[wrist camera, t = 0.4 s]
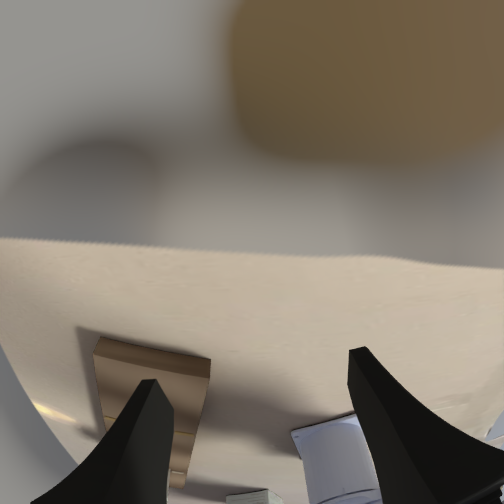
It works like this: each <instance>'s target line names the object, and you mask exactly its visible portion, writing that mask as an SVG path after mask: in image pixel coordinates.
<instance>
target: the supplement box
mask: <svg viewBox="0 0 504 504" xmlns="http://www.w3.org/2000/svg"><path fill="white" fill-rule="evenodd" d="M226 504H283V499H282V498H280V497H279V496H277V495H276V494H274V493H273V492H271V491H270V490H268V489H267V490H264V491H259V492H253V493H247V494H239V495H228V496H226Z"/></svg>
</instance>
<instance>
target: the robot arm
mask: <svg viewBox="0 0 504 504" xmlns="http://www.w3.org/2000/svg"><path fill="white" fill-rule="evenodd" d="M347 385H348V389H349V393H350V397H351V400H352V404H353V408H354V410H355V413H356V414H353V415H350V416H346V417H343V418H339V419H336V420H332V421H329V422H325V423H321V424H318V425H314V426H310V427H306V428H301V429H297V430H293V431H292V432H291V436H292V439H293V441H294V443H295V445H296V447H297V450H298V452H299V454H300V456H301V458H302V461H303V467H304V473H305V479H306V485H307V491H308V497H309V503H310V504H504V501H502V502H501V500H500V496H502V491H501V489H500V487H501V486H503V485H504V451H503V450H500V449H498V448H495V447H493V446H490V445H488V444H486V443H483V442H481V441H479V440H477V439H475V438H473V437H471V436H469V435H467V434H466V433H464V432H462V431H461V430H459V429H457V428H455V427H454V426H452V425H450V424H449V423H447V422H446V421H444V420H443V419H441V418H440V417H439V416H437V415H436V414H434V413H433V412H432V411H430V410H429V409H428V408H427V407H425V406H424V405H423V404H422V403H421V402H419V401H418V400H417V399H416V398H415V397H414V396H412V395H411V394H410V393H409V392H408V391H407V390H406V389H405V388H404V387H403V386H402V385H401V384H400V383H399V382H398V381H397V380H396V379H395V378H394V377H393V376H392V375H391V374H390V373H389V372H388V371H387V370H386V369H385V368H384V367H383V366H382V364H381V363H380V362H379V361H378V360H377V359H376V358H375V356H374V355H373V354H372V353H371V352H370V350H369V349H368V348H367V347H365V346H364V347H360V348H356V349H352V350H349V364H348V382H347ZM173 434H174V408H173V407H172V405H171V403H170V402H169V400H168V398H167V397H166V395H165V393H164V391H163V390H162V388H161V386H160V385H159V383H158V381H157V379H142V380H141V382H140V383H139V385H138V386H137V388H136V389H135V391H134V392H133V394H132V396H131V397H130V399H129V400H128V402H127V403H126V405H125V407H124V408H123V410H122V411H121V413H120V414H119V416H118V417H117V419H116V420H115V422H114V423H113V425H112V426H111V427H110V429H109V430H108V432H107V433H106V434H105V436H104V437H103V438H102V440H101V441H100V442H99V444H98V445H97V446H96V447H95V449H94V450H93V451H92V452H91V453H90V454H89V455H88V457H87V458H86V459H85V460H84V461H83V462H82V463H81V464H80V465H79V466H78V467H77V468H76V469H75V470H74V471H73V472H72V473H70V474H69V475H68V476H67V477H66V478H65V479H64V480H62V481H61V482H60V483H59V484H57V485H56V486H55V487H53V488H52V489H51V490H49V491H48V492H47V493H45V494H43V495H42V496H40V497H38V498H37V499H35V500H34V501H32V502H31V503H30V504H167V478H168V471H169V463H170V456H171V449H172V442H173ZM366 442H367V444H368V447H369V450H370V452H371V455H372V458H373V461H374V465H375V469H376V474H377V477H376V474H375V470H374V467H373V464H372V460H371V457H370V454H369V451H368V447H367V444H366ZM377 478H378V481H377ZM378 482H379V484H378ZM379 487H380V488H379Z"/></svg>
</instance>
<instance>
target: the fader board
mask: <svg viewBox="0 0 504 504" xmlns="http://www.w3.org/2000/svg"><path fill="white" fill-rule="evenodd" d="M93 360H94V367H95V374H96V380H97V386H98V392H99V398H100V403H101V408H102V413H103V418H104V423H105V427H106V432H108V430H109V429H110V427H111V426H112V425H113V423H114V422H115V420H116V419H117V417H118V416H119V414H120V413H121V411H122V410H123V408H124V407H125V405H126V403H127V402H128V400H129V399H130V397H131V396H132V394H133V392H134V391H135V389H136V388H137V386H138V385H139V383H140V382H141V380H142V379H157V381H158V383H159V385H160V386H161V388H162V390H163V391H164V393H165V395H166V397H167V398H168V400H169V402H170V403H171V405H172V407H173V408H174V434H173V442H172V449H171V456H170V463H169V469H171V470H170V480H169V487H174V488H180V489H183V488H184V484H185V480H186V475H187V471H188V467H189V463H190V458H191V454H192V450H193V446H194V442H195V437H196V433H197V429H198V425H199V421H200V417H201V413H202V408H203V404H204V400H205V396H206V392H207V388H208V384H209V380H210V366H211V360H210V359H204V358H198V357H192V356H186V355H181V354H175V353H170V352H165V351H160V350H155V349H150V348H145V347H141V346H136V345H132V344H127V343H123V342H119V341H115V340H111V339H106V338H103V337H100V339H99V341H98V343H97V345H96V348H95V350H94V352H93Z"/></svg>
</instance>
